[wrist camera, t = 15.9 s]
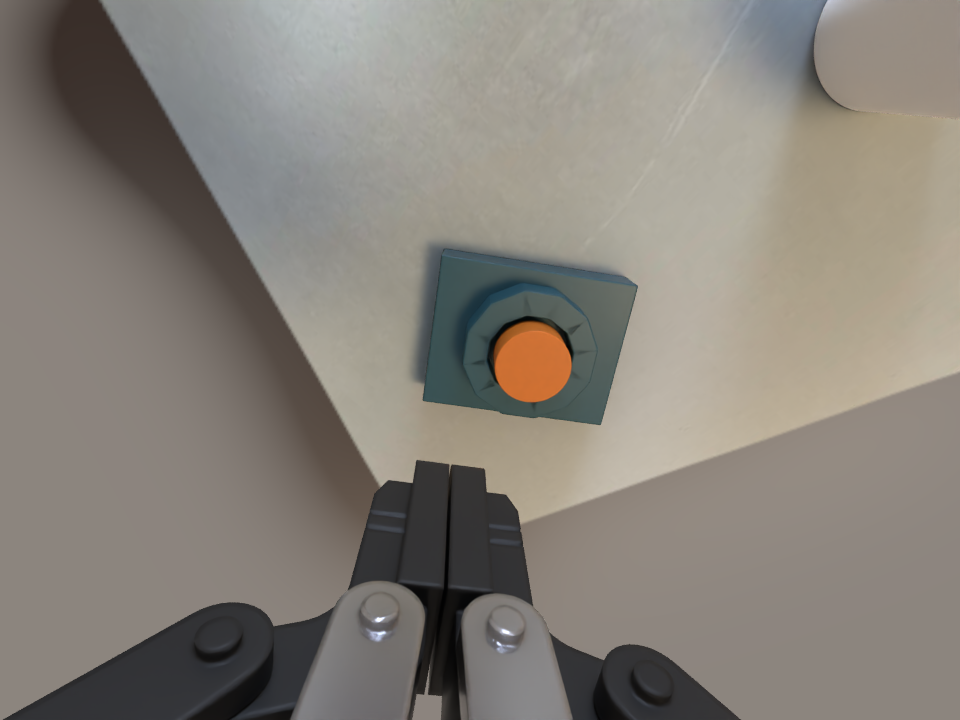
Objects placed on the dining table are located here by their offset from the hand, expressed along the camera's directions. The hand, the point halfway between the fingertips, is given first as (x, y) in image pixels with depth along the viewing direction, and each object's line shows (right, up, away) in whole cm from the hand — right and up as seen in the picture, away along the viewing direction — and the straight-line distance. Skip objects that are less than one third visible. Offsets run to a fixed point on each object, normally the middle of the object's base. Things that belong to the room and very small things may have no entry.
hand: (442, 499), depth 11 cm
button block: (+3, +5, +18) cm, 19 cm away
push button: (+3, +3, +14) cm, 15 cm away
